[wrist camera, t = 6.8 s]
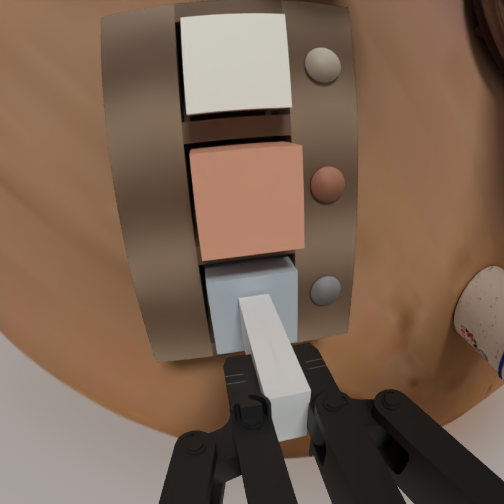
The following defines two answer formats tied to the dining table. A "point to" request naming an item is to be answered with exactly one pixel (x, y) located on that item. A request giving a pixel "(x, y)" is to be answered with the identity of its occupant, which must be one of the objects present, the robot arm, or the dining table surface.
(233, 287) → the grey key
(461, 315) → the teacup with lid
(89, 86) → the dining table surface
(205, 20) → the cream key
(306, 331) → the key box
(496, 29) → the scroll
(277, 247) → the terracotta key
